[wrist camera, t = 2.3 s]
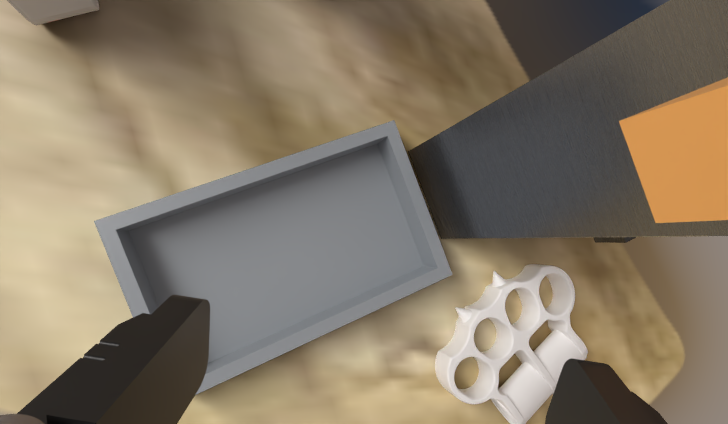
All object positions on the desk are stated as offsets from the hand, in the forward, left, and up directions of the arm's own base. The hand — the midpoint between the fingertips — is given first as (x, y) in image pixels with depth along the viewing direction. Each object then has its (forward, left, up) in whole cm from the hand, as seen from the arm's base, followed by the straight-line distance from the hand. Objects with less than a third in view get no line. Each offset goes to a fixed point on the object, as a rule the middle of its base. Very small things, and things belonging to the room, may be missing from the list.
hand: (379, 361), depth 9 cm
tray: (-1, +2, -32) cm, 32 cm away
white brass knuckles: (+24, +9, -33) cm, 42 cm away
